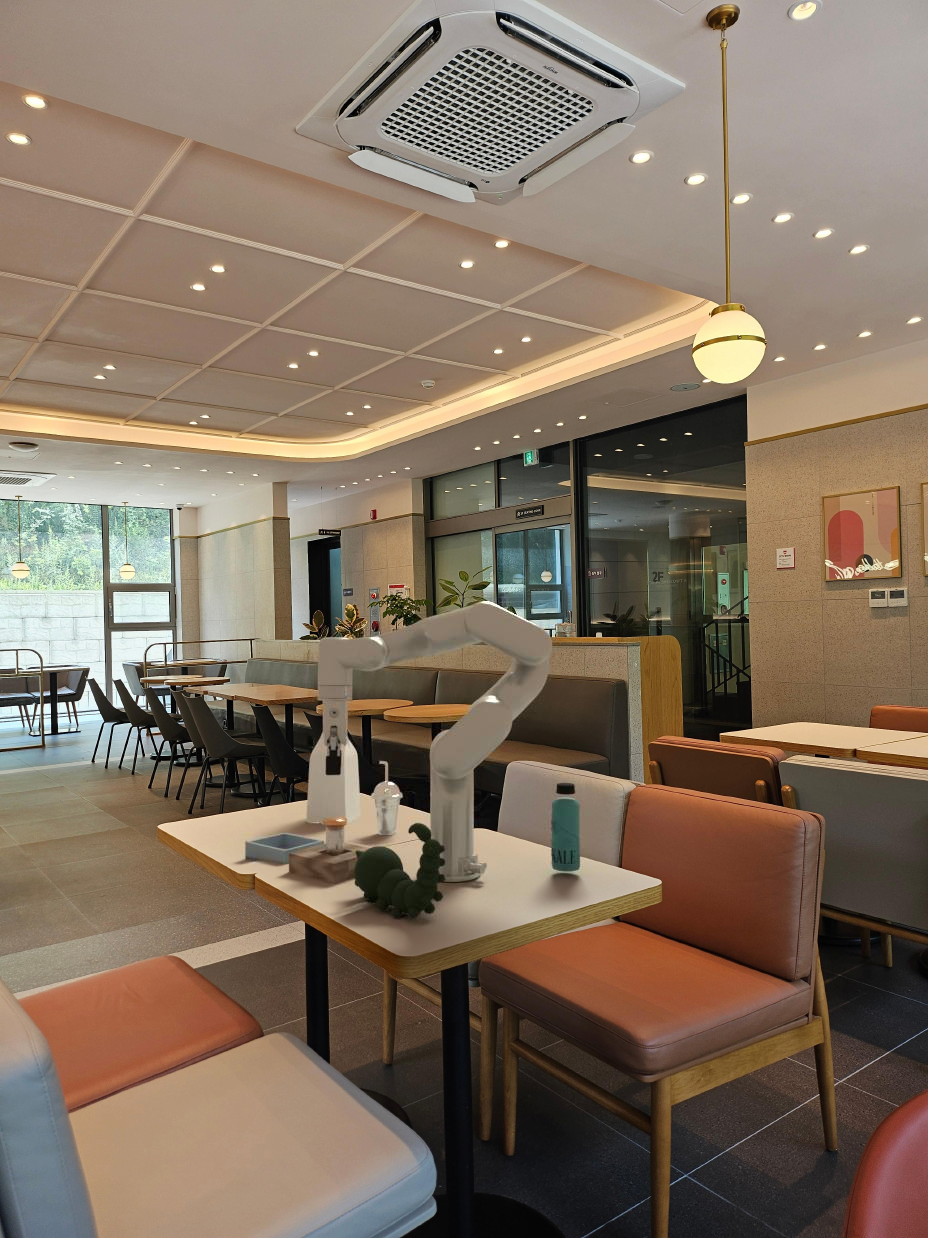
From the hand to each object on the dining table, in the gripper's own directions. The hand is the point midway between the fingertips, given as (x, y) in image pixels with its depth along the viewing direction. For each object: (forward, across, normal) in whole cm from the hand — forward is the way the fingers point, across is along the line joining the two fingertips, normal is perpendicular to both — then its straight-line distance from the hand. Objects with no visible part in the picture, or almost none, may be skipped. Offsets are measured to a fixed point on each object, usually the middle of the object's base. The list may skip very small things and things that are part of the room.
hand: (333, 771), depth 181 cm
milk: (+23, +58, +1) cm, 62 cm away
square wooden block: (+23, 0, -1) cm, 23 cm away
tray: (+23, +16, +11) cm, 30 cm away
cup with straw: (+23, +38, -13) cm, 46 cm away
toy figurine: (+23, -25, -12) cm, 36 cm away
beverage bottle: (+22, -6, -51) cm, 56 cm away
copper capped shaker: (+22, 0, -1) cm, 22 cm away
